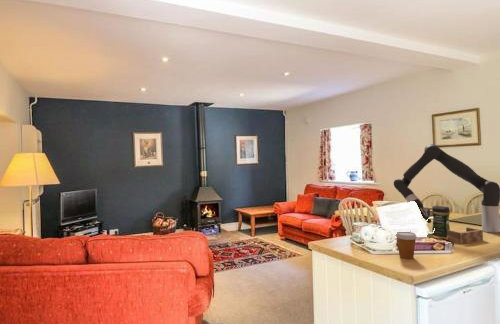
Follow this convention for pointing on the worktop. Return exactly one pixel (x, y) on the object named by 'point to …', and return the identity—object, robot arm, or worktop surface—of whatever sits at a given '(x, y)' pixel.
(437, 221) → the coffee jar
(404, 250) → the disposable coffee cup
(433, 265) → the worktop surface
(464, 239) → the bracket
